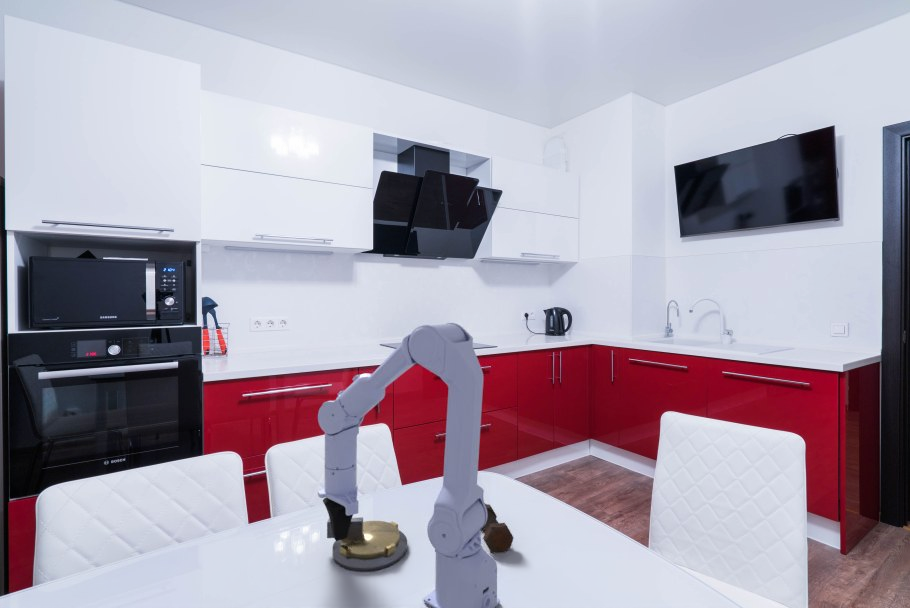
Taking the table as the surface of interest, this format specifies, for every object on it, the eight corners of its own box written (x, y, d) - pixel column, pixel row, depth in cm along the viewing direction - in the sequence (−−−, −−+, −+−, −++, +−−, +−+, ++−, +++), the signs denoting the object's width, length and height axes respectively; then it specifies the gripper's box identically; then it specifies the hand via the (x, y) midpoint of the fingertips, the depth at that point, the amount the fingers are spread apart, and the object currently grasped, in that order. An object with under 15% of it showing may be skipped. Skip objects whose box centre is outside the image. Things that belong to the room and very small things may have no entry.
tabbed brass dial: (416, 540, 86) (416, 517, 86) (364, 569, 77) (364, 543, 77) (375, 519, 94) (375, 498, 94) (323, 543, 85) (323, 520, 85)
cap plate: (422, 548, 86) (422, 542, 86) (363, 582, 76) (363, 575, 76) (375, 524, 96) (375, 518, 96) (317, 551, 85) (317, 545, 85)
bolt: (482, 524, 100) (503, 560, 85) (463, 514, 99) (481, 549, 84) (495, 500, 101) (518, 531, 86) (476, 490, 100) (496, 520, 85)
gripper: (309, 456, 87) (309, 526, 87) (329, 482, 74) (328, 564, 74) (345, 450, 90) (344, 517, 90) (370, 474, 78) (369, 552, 78)
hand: (340, 537), depth 83 cm, fingers closed
